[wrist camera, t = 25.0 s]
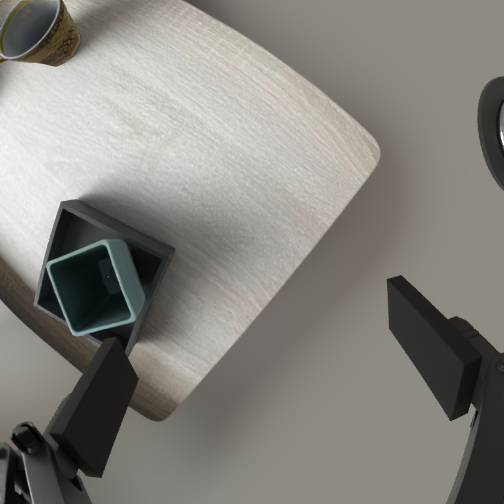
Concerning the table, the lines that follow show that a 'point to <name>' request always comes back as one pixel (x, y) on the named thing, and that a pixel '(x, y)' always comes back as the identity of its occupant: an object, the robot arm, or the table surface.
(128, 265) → the flower pot
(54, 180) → the table surface
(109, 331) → the tote
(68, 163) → the table surface
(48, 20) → the ceramic cup
